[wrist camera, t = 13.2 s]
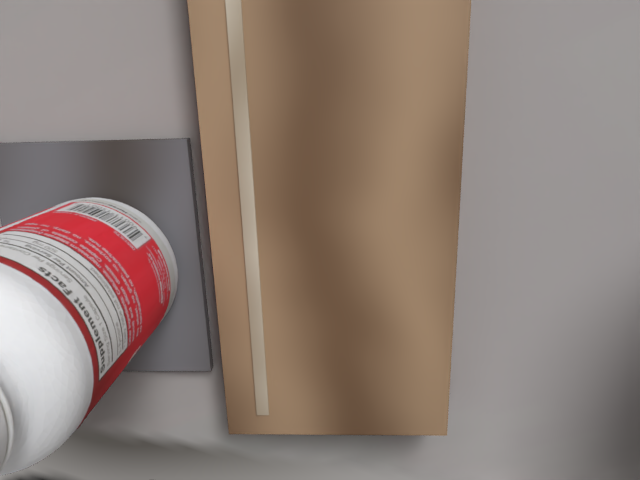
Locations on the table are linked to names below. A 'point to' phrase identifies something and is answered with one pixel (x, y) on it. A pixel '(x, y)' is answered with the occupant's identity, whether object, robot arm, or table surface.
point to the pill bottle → (73, 316)
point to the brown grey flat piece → (300, 209)
